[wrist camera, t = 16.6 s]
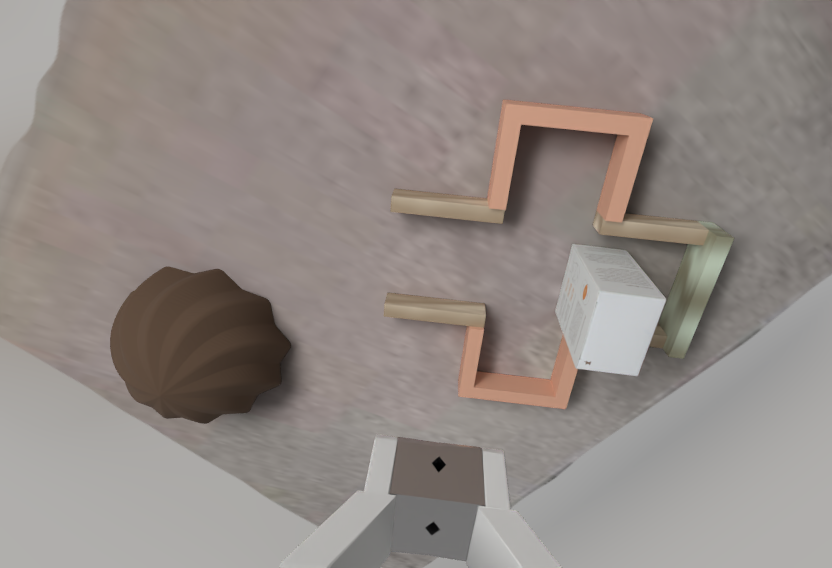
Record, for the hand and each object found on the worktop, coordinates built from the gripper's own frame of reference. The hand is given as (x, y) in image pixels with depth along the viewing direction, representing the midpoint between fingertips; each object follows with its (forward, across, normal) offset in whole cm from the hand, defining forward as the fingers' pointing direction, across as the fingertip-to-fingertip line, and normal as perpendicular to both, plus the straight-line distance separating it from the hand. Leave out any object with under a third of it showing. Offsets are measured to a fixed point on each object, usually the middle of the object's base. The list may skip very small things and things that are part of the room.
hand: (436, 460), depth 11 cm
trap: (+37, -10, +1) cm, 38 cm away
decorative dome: (+38, +26, +25) cm, 52 cm away
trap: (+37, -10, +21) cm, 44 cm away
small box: (+37, -16, +12) cm, 42 cm away
